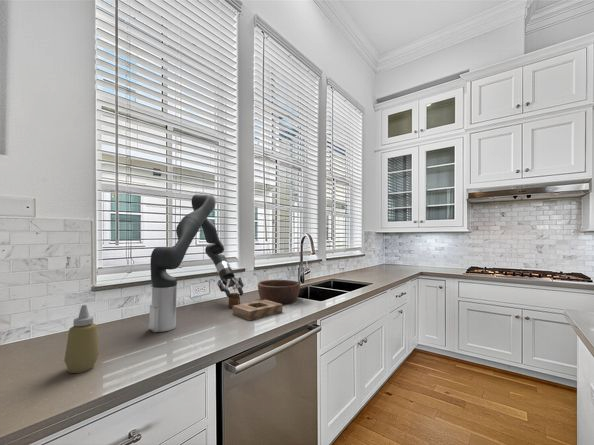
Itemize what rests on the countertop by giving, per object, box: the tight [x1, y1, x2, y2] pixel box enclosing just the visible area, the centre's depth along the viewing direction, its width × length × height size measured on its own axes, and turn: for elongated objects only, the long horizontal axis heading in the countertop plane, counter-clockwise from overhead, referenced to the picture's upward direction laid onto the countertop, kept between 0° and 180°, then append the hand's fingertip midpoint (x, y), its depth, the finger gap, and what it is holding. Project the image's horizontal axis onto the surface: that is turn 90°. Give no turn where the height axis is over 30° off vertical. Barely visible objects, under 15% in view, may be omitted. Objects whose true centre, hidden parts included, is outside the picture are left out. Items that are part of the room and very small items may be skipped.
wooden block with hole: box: [232, 299, 284, 321], centre depth 142 cm, size 20×14×4 cm
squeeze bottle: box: [64, 304, 100, 374], centre depth 83 cm, size 8×8×18 cm
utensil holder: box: [228, 283, 241, 309], centre depth 153 cm, size 6×6×12 cm
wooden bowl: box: [257, 279, 301, 305], centre depth 170 cm, size 25×25×10 cm
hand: (236, 295), depth 152 cm, fingers open, 7 cm apart
